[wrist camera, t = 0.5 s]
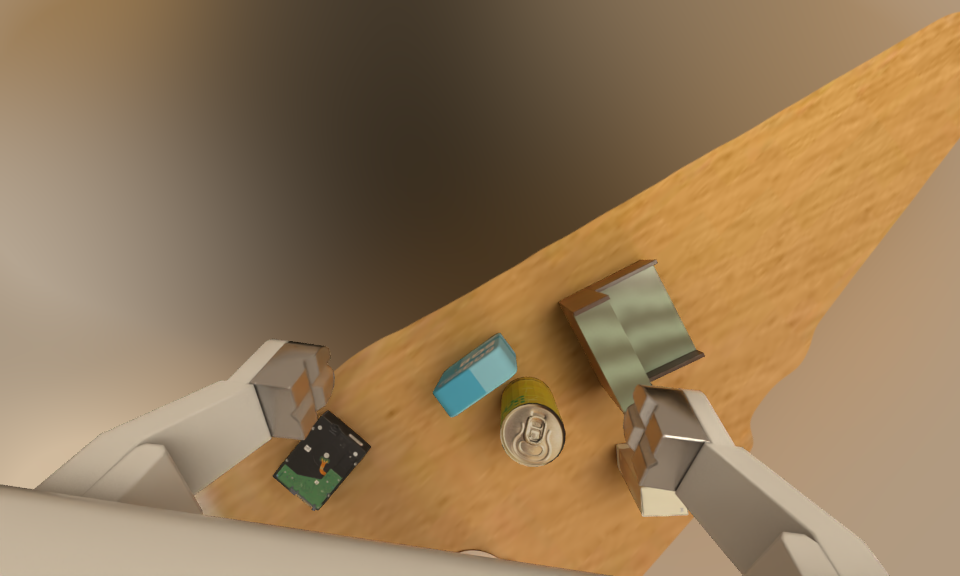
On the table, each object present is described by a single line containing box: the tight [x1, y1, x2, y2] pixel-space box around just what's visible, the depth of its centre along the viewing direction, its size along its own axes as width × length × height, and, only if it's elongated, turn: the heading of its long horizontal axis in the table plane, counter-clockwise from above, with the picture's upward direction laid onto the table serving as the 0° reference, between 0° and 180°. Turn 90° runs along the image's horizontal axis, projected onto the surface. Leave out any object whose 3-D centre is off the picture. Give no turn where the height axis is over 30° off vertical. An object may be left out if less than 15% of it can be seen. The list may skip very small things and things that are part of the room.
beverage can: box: [500, 377, 565, 467], centre depth 56 cm, size 9×9×12 cm
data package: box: [433, 333, 517, 417], centre depth 56 cm, size 12×4×12 cm, turn 126°
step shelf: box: [559, 260, 705, 415], centre depth 53 cm, size 16×15×14 cm
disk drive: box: [273, 411, 371, 511], centre depth 64 cm, size 10×3×15 cm
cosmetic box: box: [616, 443, 688, 517], centre depth 55 cm, size 6×4×12 cm
